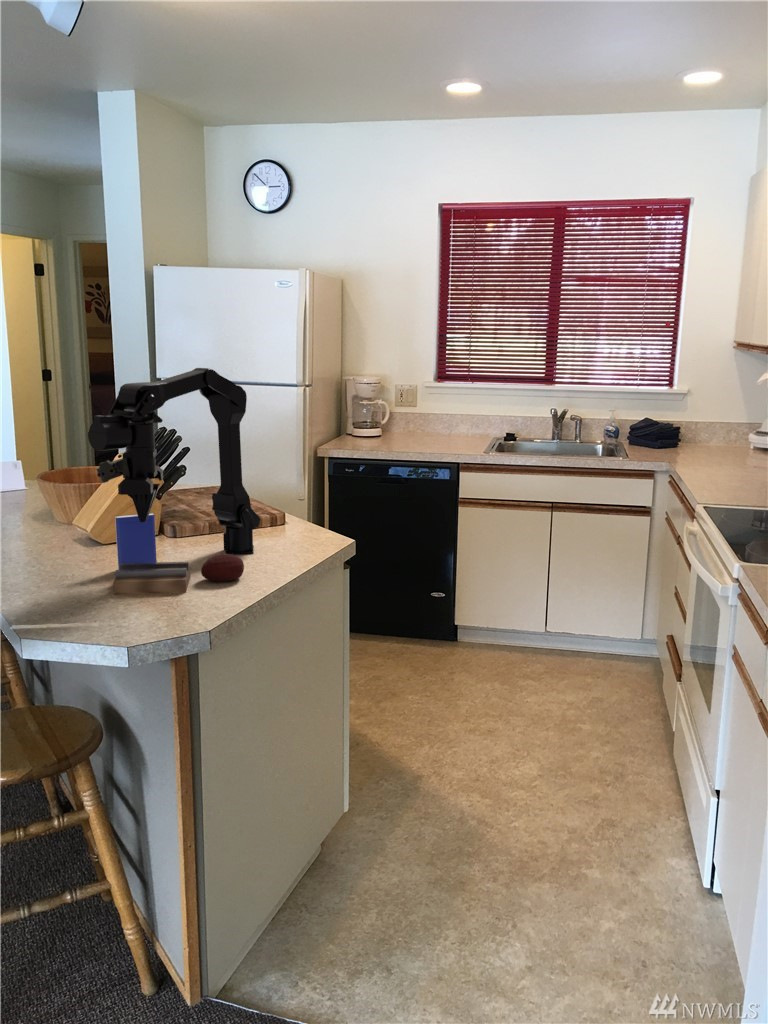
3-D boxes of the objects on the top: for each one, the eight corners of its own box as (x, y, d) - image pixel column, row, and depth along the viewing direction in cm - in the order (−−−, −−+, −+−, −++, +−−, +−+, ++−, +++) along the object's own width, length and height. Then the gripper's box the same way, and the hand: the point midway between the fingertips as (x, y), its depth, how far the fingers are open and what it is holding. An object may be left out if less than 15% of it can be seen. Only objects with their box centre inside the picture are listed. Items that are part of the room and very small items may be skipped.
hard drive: (157, 568, 178) (154, 514, 175) (119, 573, 174) (115, 518, 171) (155, 567, 179) (153, 513, 176) (118, 571, 175) (114, 516, 173)
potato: (245, 585, 167) (244, 558, 165) (201, 588, 165) (200, 560, 164) (243, 575, 174) (243, 548, 173) (201, 577, 172) (200, 550, 171)
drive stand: (190, 578, 171) (189, 558, 170) (186, 593, 161) (185, 572, 160) (122, 581, 168) (121, 560, 167) (114, 596, 159) (112, 574, 158)
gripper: (108, 440, 170) (112, 511, 174) (88, 452, 152) (93, 531, 155) (162, 440, 172) (164, 510, 175) (148, 452, 154) (152, 531, 157)
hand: (143, 520), depth 166 cm, fingers closed
